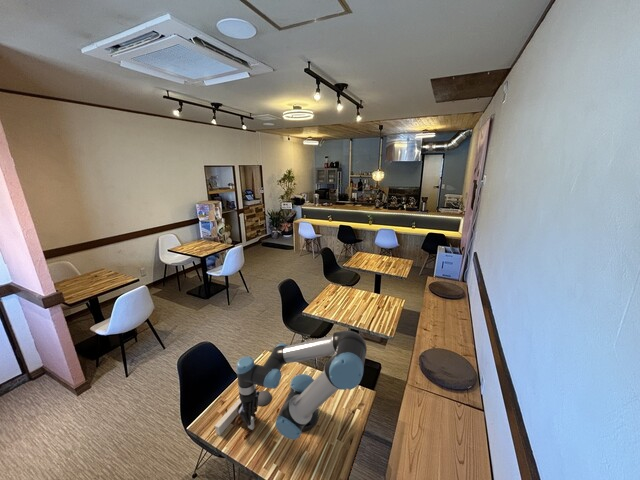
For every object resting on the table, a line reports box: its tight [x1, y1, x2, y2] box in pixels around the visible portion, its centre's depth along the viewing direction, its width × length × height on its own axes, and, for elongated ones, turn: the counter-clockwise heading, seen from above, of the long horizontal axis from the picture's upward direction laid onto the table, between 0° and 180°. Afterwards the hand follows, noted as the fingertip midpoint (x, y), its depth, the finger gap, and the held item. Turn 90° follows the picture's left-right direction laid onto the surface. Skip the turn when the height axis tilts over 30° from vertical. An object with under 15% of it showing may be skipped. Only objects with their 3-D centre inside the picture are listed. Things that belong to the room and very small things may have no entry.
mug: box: [234, 403, 256, 429], centre depth 125 cm, size 12×8×9 cm, turn 161°
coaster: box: [257, 390, 272, 407], centre depth 140 cm, size 9×9×1 cm
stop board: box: [214, 397, 241, 436], centre depth 130 cm, size 2×22×5 cm, turn 153°
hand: (251, 427), depth 123 cm, fingers closed
